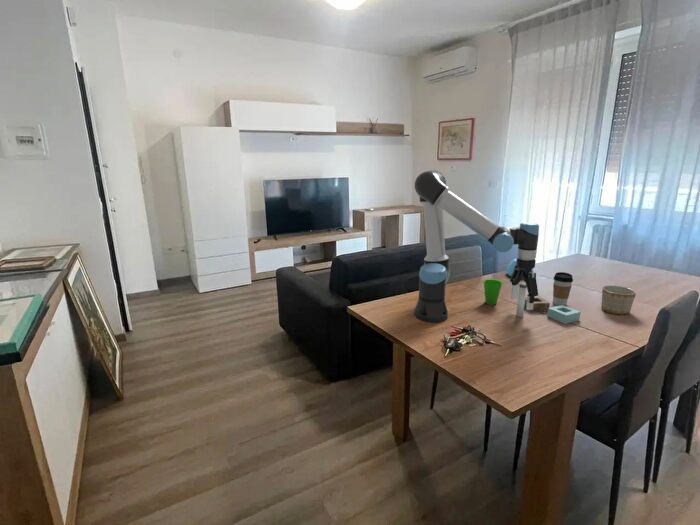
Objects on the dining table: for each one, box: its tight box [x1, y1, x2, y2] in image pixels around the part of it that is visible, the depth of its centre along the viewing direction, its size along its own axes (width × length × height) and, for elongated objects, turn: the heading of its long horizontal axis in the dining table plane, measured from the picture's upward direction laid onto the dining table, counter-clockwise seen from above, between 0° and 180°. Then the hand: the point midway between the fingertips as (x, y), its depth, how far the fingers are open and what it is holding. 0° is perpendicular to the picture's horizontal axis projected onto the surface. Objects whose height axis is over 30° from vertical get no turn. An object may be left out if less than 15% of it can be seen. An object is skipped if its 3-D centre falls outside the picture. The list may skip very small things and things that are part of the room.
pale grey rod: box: [515, 283, 527, 318], centre depth 168 cm, size 3×3×15 cm
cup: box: [482, 278, 504, 306], centre depth 185 cm, size 9×9×11 cm
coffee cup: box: [552, 271, 574, 306], centre depth 182 cm, size 8×8×15 cm
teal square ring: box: [546, 305, 581, 325], centre depth 167 cm, size 9×9×4 cm
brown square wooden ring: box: [524, 295, 551, 312], centre depth 179 cm, size 9×9×4 cm
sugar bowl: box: [506, 258, 534, 277], centre depth 227 cm, size 15×15×12 cm
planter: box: [600, 284, 637, 316], centre depth 173 cm, size 13×13×10 cm
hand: (521, 303), depth 168 cm, fingers open, 13 cm apart
